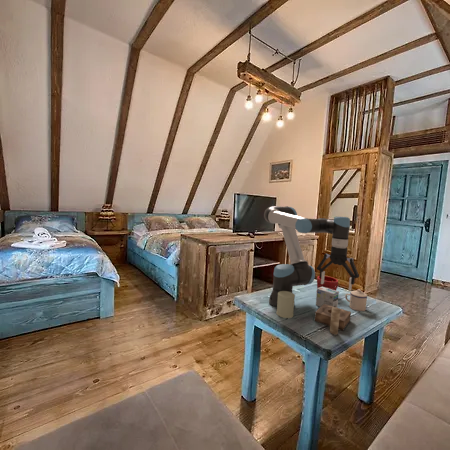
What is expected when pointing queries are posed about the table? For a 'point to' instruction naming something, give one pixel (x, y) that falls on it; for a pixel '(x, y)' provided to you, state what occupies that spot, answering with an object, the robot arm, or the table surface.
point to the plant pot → (327, 282)
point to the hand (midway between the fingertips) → (335, 286)
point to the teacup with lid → (357, 300)
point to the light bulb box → (327, 297)
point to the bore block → (325, 315)
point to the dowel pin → (334, 320)
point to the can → (285, 304)
